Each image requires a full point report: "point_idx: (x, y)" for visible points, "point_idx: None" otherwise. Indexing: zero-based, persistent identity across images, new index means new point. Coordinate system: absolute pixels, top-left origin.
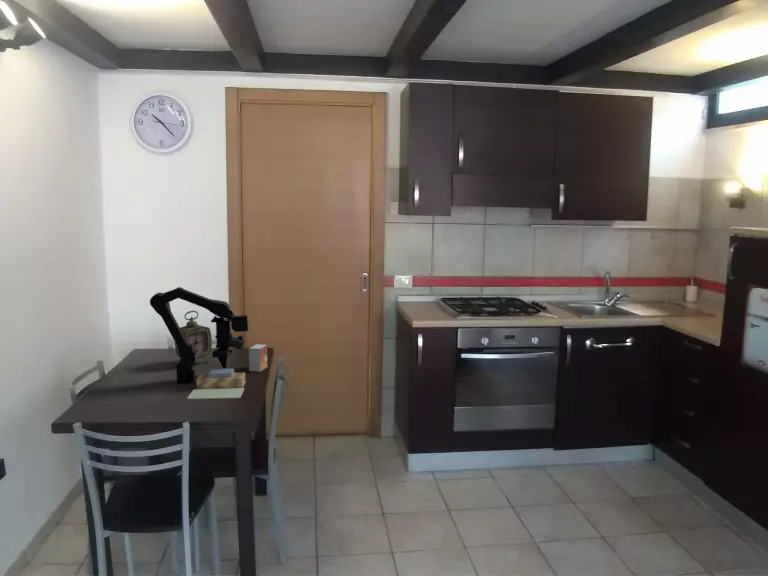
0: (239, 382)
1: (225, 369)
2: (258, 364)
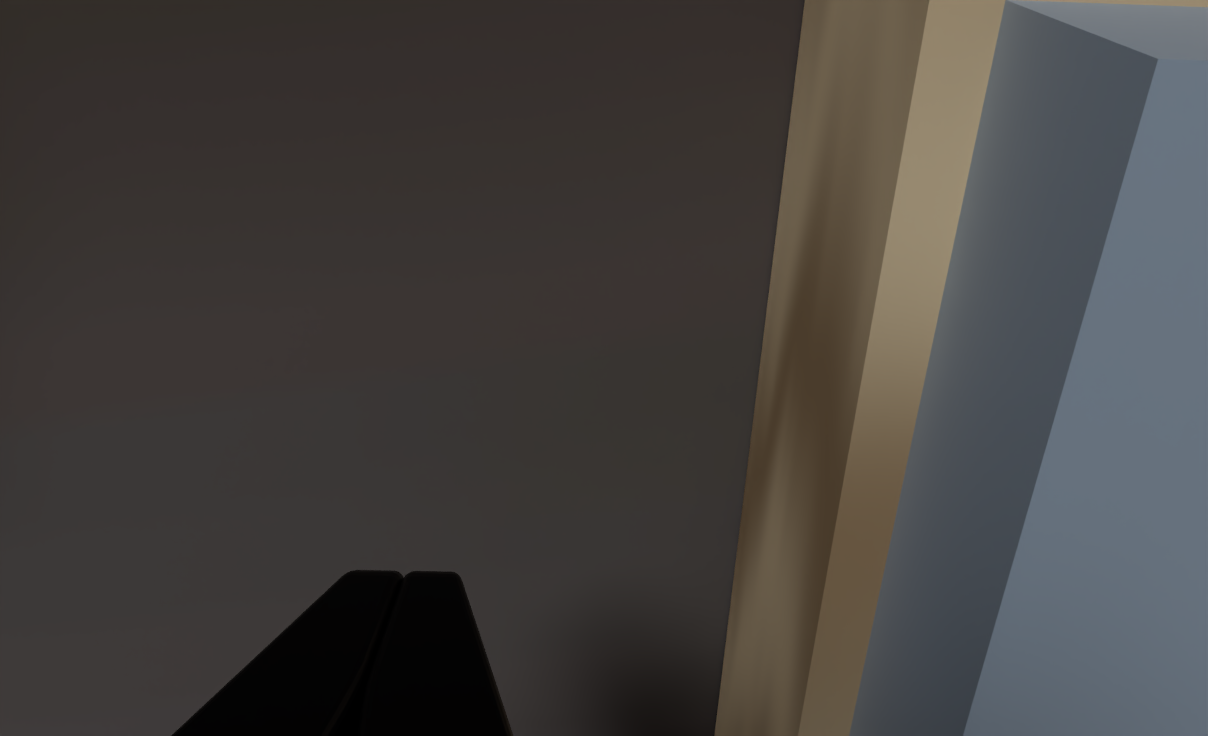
0: None
1: (1185, 585)
2: None
